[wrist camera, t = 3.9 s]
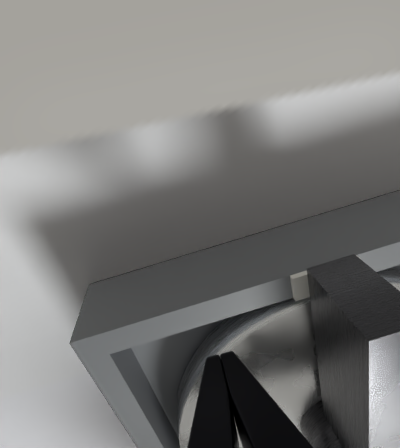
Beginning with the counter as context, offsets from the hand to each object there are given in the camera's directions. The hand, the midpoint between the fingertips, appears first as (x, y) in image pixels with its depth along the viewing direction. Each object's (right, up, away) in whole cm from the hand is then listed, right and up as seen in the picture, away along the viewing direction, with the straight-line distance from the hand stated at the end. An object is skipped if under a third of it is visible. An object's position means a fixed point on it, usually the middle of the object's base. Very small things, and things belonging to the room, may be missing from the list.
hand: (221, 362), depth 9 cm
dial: (+5, -3, +6) cm, 9 cm away
